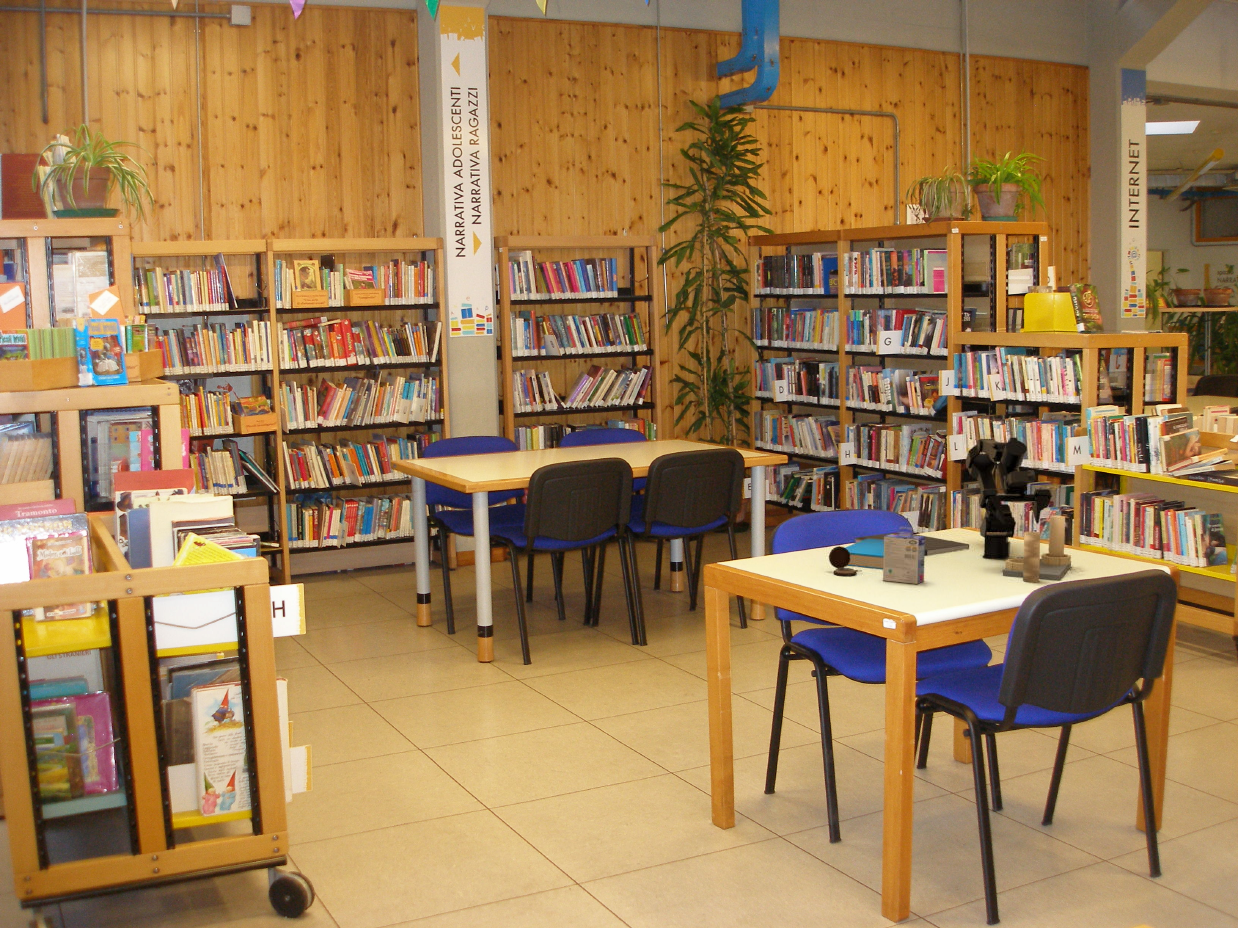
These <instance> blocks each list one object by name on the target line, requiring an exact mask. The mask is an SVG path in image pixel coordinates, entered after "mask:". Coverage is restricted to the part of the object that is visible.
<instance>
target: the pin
mask: <svg viewBox="0 0 1238 928" xmlns="http://www.w3.org/2000/svg"><path fill="white" fill-rule="evenodd" d="M1023 535H1024V536H1023V540H1024V541H1023V557H1024V562H1023V577H1022V581H1023V582H1026V583H1036V584H1037V583H1040V579H1039V561H1040V559H1041V558H1040V556H1041V555H1040V554H1041V553H1040V552H1041V532H1038V531H1025V532H1024V533H1023Z"/></svg>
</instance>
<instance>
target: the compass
mask: <svg viewBox="0 0 1238 928" xmlns="http://www.w3.org/2000/svg"><path fill="white" fill-rule="evenodd" d="M828 559H829V560H828V561H829V563H830V564H831V566H832V567H834V568H835V570H833V575H834V576H837V577H838V576H839V577H854V576H856V575H857V573H858V572H859V573H860V572H863V571H862V569H854V568H851V567H847V565H848V564H849V562H850V553H849V551H848V550H847V549H846V548H845V547H844V546H841V545H838V546H835V547H833V548H832V549H831V550H830V552H829V554H828Z"/></svg>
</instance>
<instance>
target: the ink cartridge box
mask: <svg viewBox="0 0 1238 928" xmlns="http://www.w3.org/2000/svg"><path fill="white" fill-rule="evenodd" d="M902 530H907V531H902ZM908 531H909V532H908ZM897 532H898V535H894V534H889V535H887V536H885V537H884V558H883V569H882V581H886V582H888V581H889V582H897V583H905V584H914V585H918V584H921V583H923V582H925V556H924V553H925V537H924V536H925V535H922V536H912V534H913V527H912V526H903V525H901V526H899V530H898V531H897Z"/></svg>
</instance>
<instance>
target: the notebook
mask: <svg viewBox="0 0 1238 928" xmlns="http://www.w3.org/2000/svg"><path fill="white" fill-rule="evenodd" d="M898 532H899V531H897V532H890V533H883V534H875V535H874V534H873V535H866V536H858V537H854V539H855V543H858V542H860V541H863V540H865V539H879V540H884V537H885V536H887V535H889V534H894V535H898ZM912 536H924V537H925V553H924V557H926V556H932V555H938V554H947V553H952V551H953V552H957V551H956V550H960V551H964V550H963V549H966V550H970V544H969V543H964V542H960V541H953V540H948V539H944V538H943V539H942V538H938V537H937V538H936V537H933V536H927V535H922V534H921V535H920V534H916V533H915V534H914V533H912ZM946 552H947V553H946Z"/></svg>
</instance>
